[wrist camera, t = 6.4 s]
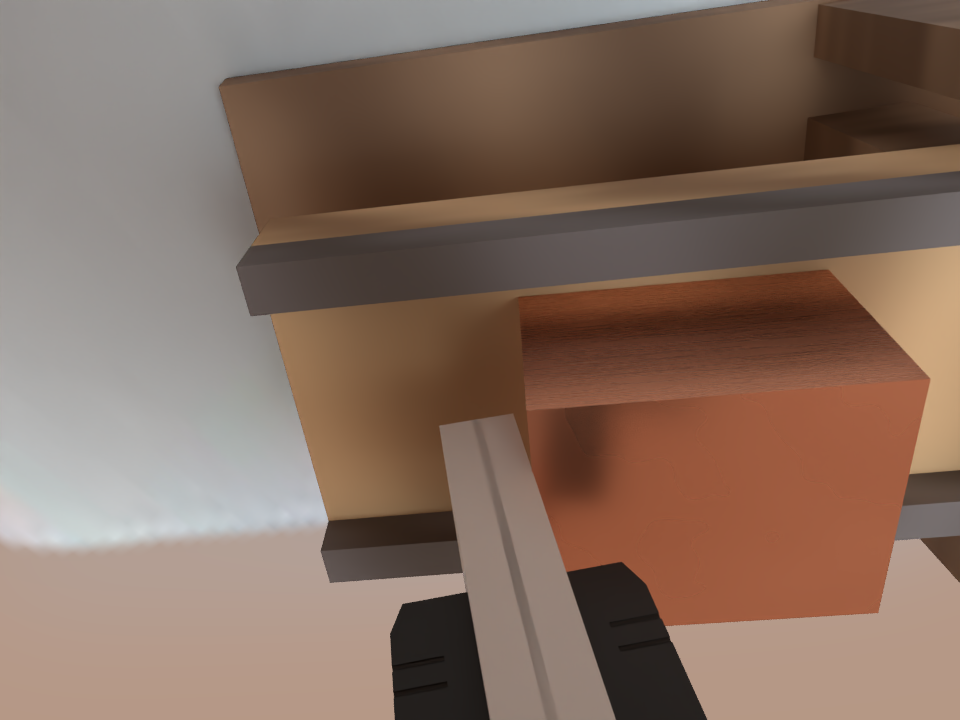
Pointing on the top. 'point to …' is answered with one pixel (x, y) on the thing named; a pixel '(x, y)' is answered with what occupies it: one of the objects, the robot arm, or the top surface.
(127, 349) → the top surface
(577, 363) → the terracotta wooden block
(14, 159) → the top surface
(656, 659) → the robot arm
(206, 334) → the top surface
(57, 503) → the top surface
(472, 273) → the beam
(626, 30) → the stand
